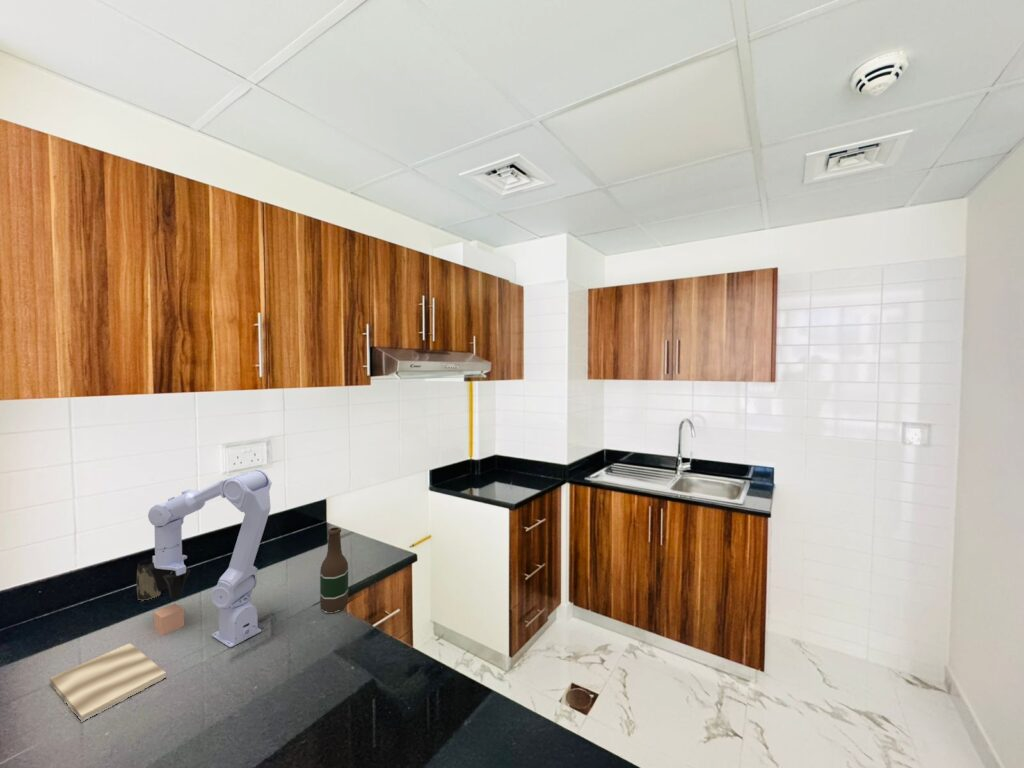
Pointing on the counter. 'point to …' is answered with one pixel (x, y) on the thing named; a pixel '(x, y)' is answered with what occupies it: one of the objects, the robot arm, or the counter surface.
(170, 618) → the terracotta cube
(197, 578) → the counter surface
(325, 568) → the beer bottle
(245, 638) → the robot arm
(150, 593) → the mug
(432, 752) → the counter surface
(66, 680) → the birch board
